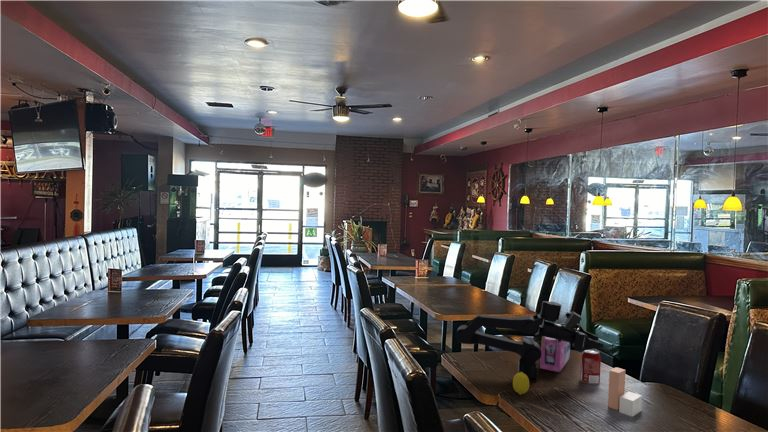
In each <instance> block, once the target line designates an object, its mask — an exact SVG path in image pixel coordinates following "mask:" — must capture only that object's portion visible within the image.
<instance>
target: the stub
mask: <svg viewBox="0 0 768 432" xmlns="http://www.w3.org/2000/svg"><path fill="white" fill-rule="evenodd" d="M625 386H626V369H623V368H620V367H618V366H617V367H613V368H612V369H609V374H608V394H607V395H608V396H607V397H608V398H607V400H608V401H607V407H608V408H610V409H613V410H616V411H619V407H620V396H622V395H624V394H625V393H626V392H625V391H626V389H625Z"/></svg>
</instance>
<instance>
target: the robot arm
mask: <svg viewBox="0 0 768 432" xmlns="http://www.w3.org/2000/svg"><path fill="white" fill-rule="evenodd" d="M561 310H562V304H560V303H559V302H555V301H549V300H548V301H545V300H543V301H542V303H541V310H540V312H539V313H538V314H535V315H524V316H522V315H521V316H517V317H506V316H496V315H485V314H481V313H480V314H476V316H474V318H472V319H471V320H469V321H468V322H467V323H466V324H461V325H460V326H459V327H458V328H457V330H456V332H455V339H456V340H457V342H458V343H459V344H465V345H475V344H479V345H483V346H487V347H491V348H495V349H498V350H499V349H500V350H504V351H507V352H511V353H515V354H517V355H518V356H519V359H518V360H517V373H520V372H523V373H524V374H526V375H527V377H528V379H529V382H537V381H538V380H537V379H538V371H539V370H538V369H539V368H538V366H537V361H538V360H539V361H540V358H541V345H540V344H539V343H538V342H537V341H535V340H534V339H529V338H526V337H522V340H514V339H509V338H505V337H501V336H497V335H493V334H488V333H484V332H481V331H479V329H480V328H481V327H487V328H495V329H496V328H497V329H505V330H506V329H507V330H514V331H517V332H519V333H522V334H527V335H531V336H532V335H535V337H537V339H538V341H539V342H542V336H544V337H548V338H553V339H557V340H558V341H559V342H561V341H565V342H569V343H570V346H571V345H572V347H573V349H574V351H576V352H579V353H582V352H583V351H585V350H589V349H594V350H596V349H600V348H604V344H603V343H602V342H599V339H600V337H599V336H597V335H595V334H592V333H591V332H588V331H587V330H585V329H584V328H583V327H582V325H581V324H579V322H581V320H582V316H581V315H580V314H578V313H576V312H575V311H573V310H572V311H571V312H570V311H567V312H566V313H565V317H566V319H565V322H559V323H556V322H557V321H559V319H560V315H561Z"/></svg>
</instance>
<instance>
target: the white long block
mask: <svg viewBox="0 0 768 432" xmlns="http://www.w3.org/2000/svg"><path fill="white" fill-rule="evenodd" d="M642 404H643V395H642V394H639V393H636V392H632V391H628V392H625V393H624V395H622V396H620V407H619V409H618V410H617V412H619V413H621V414H624V415H626V416H628V417H634V416H636V415H637V414H639V413H640V412H641V411H642V408H643V407H642Z"/></svg>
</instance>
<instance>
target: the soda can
mask: <svg viewBox="0 0 768 432" xmlns="http://www.w3.org/2000/svg"><path fill="white" fill-rule="evenodd" d="M601 356H602V355H600V351H599V350H597V349H589V350H585V351H582V352H581V353H580V369H579V370H580V372H579V375H580V376H579V380H580V382H582V383H583V384H587V385H600V383H601V364H602V362H601V361H602V359H601V358H602V357H601Z"/></svg>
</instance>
